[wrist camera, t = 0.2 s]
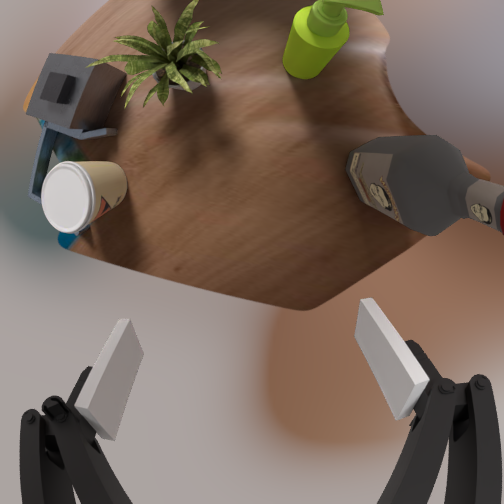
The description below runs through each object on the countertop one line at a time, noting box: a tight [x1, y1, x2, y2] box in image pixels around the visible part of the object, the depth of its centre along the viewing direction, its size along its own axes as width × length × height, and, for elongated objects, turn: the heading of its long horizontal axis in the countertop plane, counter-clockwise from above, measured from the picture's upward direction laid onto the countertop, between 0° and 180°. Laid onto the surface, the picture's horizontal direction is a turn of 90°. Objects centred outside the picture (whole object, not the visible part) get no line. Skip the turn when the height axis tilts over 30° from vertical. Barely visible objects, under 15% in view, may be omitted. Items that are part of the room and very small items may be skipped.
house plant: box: [85, 0, 222, 108], centre depth 25 cm, size 14×14×16 cm
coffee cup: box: [41, 161, 127, 233], centre depth 33 cm, size 9×9×12 cm
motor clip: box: [26, 53, 126, 236], centre depth 30 cm, size 16×27×11 cm, turn 154°
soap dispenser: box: [283, 0, 384, 79], centre depth 22 cm, size 6×7×20 cm
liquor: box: [345, 135, 504, 236], centre depth 23 cm, size 9×9×30 cm
